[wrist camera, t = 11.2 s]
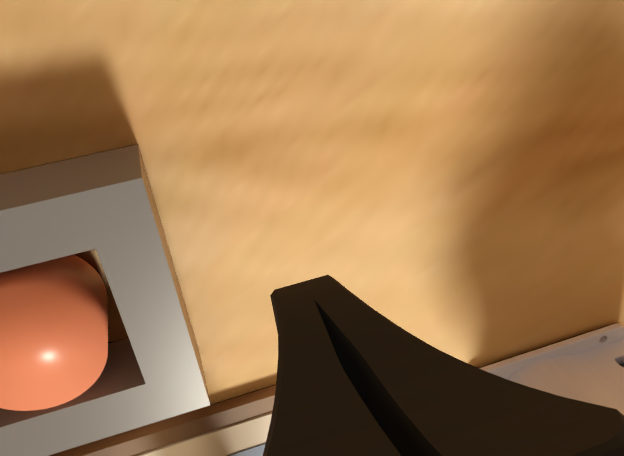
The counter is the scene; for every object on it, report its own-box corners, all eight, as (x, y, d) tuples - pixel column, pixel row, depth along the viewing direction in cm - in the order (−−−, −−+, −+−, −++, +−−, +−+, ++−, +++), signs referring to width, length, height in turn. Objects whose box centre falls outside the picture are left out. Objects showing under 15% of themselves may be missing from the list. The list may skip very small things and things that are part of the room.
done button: (85, 231, 21) (81, 276, 19) (123, 333, 24) (125, 385, 21) (-59, 266, 20) (-83, 318, 18) (-4, 369, 23) (-18, 427, 20)
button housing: (137, 144, 21) (142, 177, 18) (200, 356, 26) (210, 405, 23) (-179, 214, 19) (-224, 262, 16) (-45, 427, 24) (-62, 489, 21)
